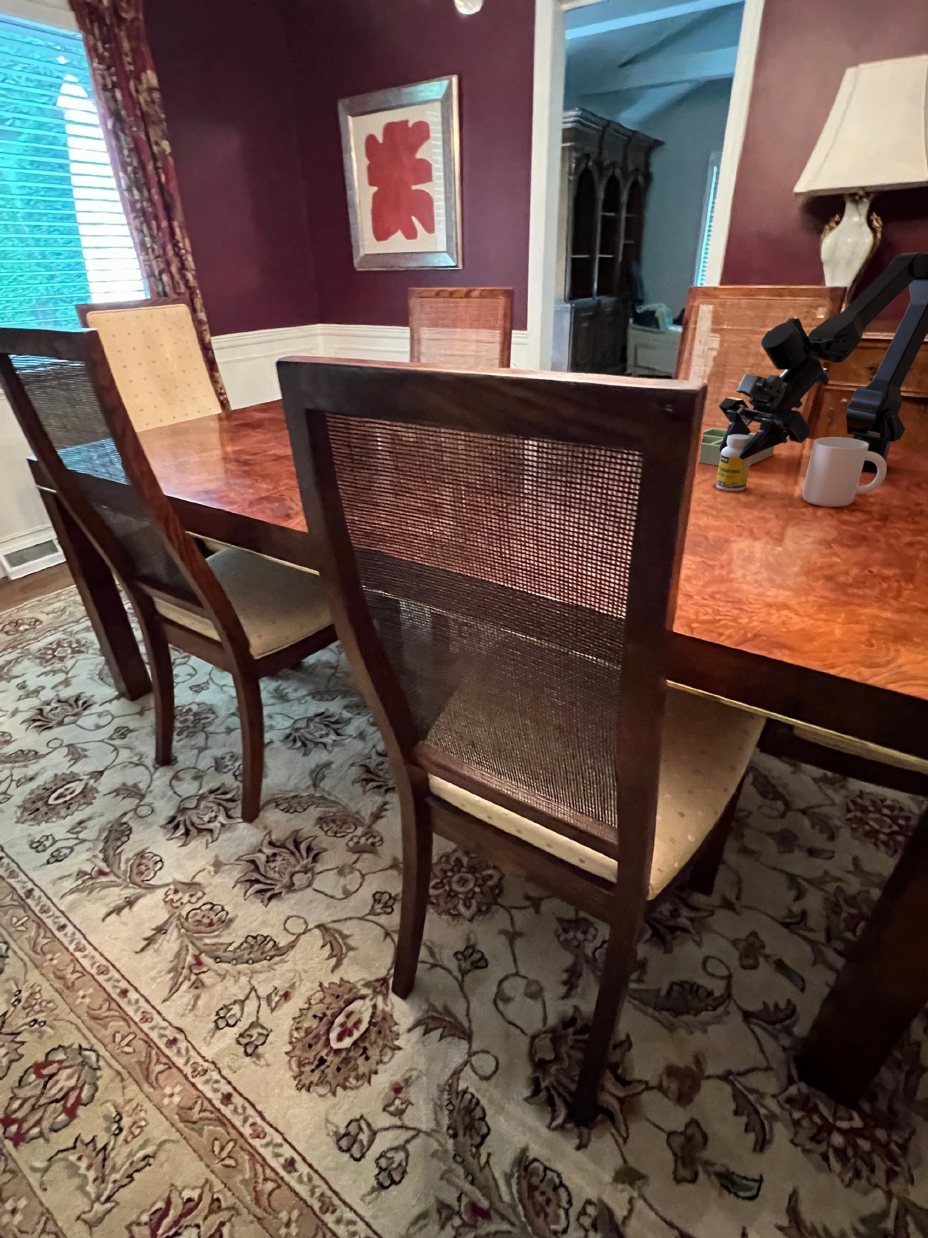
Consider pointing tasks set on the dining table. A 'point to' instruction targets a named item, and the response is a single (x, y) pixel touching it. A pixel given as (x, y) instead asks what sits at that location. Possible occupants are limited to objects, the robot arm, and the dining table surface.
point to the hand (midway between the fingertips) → (730, 454)
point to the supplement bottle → (733, 464)
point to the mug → (839, 471)
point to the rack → (713, 442)
